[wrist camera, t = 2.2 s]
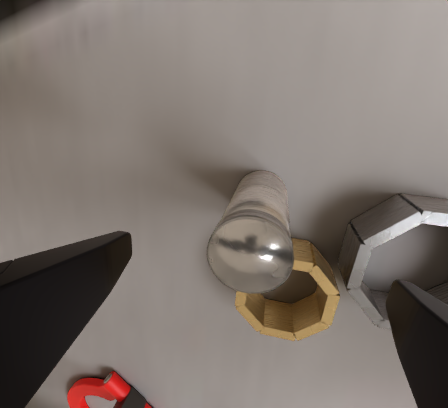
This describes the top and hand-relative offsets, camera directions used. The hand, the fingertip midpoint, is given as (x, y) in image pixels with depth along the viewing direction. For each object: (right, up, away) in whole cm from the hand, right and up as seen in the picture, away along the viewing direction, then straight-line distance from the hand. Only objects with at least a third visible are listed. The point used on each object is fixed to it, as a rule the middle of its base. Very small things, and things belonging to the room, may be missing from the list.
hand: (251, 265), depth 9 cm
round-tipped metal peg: (+1, +3, +7) cm, 7 cm away
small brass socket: (+3, -3, +8) cm, 9 cm away
